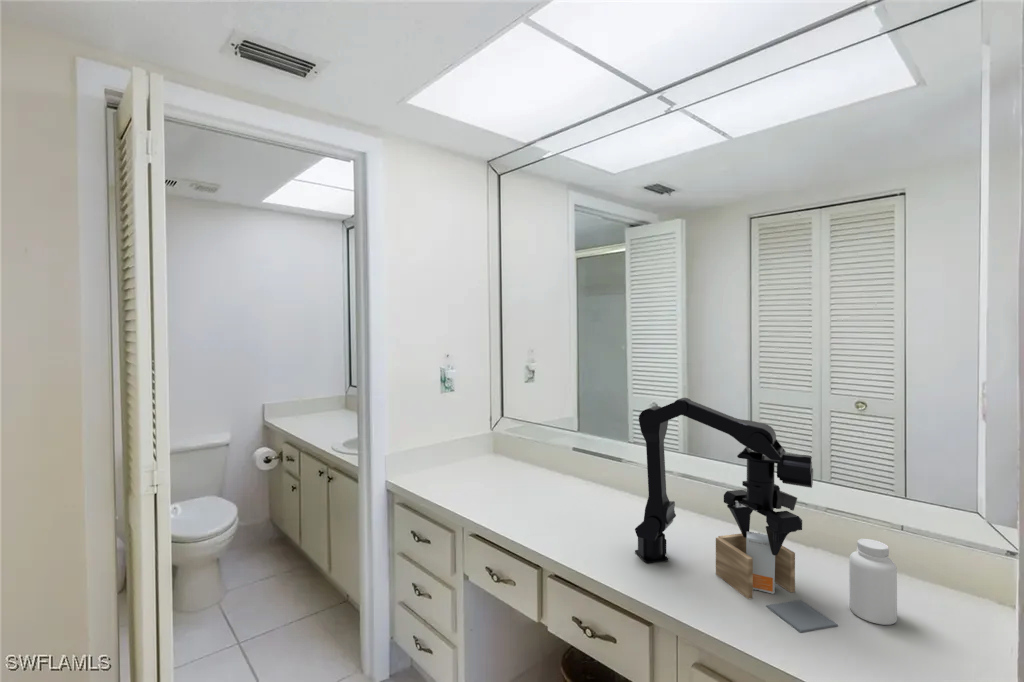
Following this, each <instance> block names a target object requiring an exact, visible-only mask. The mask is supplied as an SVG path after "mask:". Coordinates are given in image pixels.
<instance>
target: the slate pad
mask: <svg viewBox="0 0 1024 682" xmlns="http://www.w3.org/2000/svg"><path fill="white" fill-rule="evenodd" d="M765 607H766V608H767V609H768V610H770V612H773V613H774V614H775V615H776V616H778V617H779V618H780V619H781V620H783V621H784V622H786V623H787V624H788V625H790V626H791V627H792V628H793V629H795V630H796V631H798V632H799V633H806V632H812V631H817V630H823V629H828V628H834V627H838V623H837V622H835V621H834V620H832V619H831V618H829V617H828V616H826V614H823V613H822V612H821V611H819V610H818V609H816V608H814V607H813V606H812V605H810V604H808V603H807V602H806V601H804V600H802V599H796V600H790V601H783V602H777V603H771V604H766V606H765Z"/></svg>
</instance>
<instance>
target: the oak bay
mask: <svg viewBox="0 0 1024 682" xmlns="http://www.w3.org/2000/svg"><path fill="white" fill-rule="evenodd" d="M715 575H716V576H718V577H719V578H720V579H722V580H723V581H725V583H726V584H728V585H729V586H731V587H732V588H733V589H734V590H736V591H737V592H738V593H740V594H741V595H742V596H743V597H744V598H746V599H747V600H751V599H754V598H753V595H754V592H753V590H754V589H753V558H751V557H750V556H748V555H747V554H746V538H744V537H743V535H742V533H741V532H740V533H736V534H735V533H733V534H726V535H719V536H718V537H715ZM775 584H778V585H779V586H780V587H781V588H783V589H785V590H786V591H788V592H789V593H795V592H796V552H794V551H793V550H791V549H789V548H787V547H785V546H784V545H782V546H781V548H780V550H779V553H778V555H775Z"/></svg>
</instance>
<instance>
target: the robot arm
mask: <svg viewBox="0 0 1024 682" xmlns="http://www.w3.org/2000/svg"><path fill="white" fill-rule="evenodd" d="M638 415H639V416H638V423H639V428H640V433H641V434H642V437H643V438H644V441H645V448H646V451H645V452H646V465H647V466H646V467H647V468H646V469H647V486H648V487H647V489H648V498H647V501H646V503H645V507H644V508H645V509H644V515H643V521H641V523H639V524H638V525H637V526H636V527H635V529H634V531H635V534H636V535H635V536H636V537H637V549H635V550H634V553H635V554H636V555H637V556H638V557H639V558H640V559H641V560H643V562H644V563H646V564H650V563H652V564H653V563H658V562H666V561H669V557H668V556H667V539H666V535H665V533H664V532H665V531H666V530H667V529H668V528H669V527H670V526H671V524H673V523H674V522H673V521H674V519H675V518H676V517H677V514H676V513H675V506H676V503H675V501H674V500H673V501H670V499H669V496H668V495H667V481H666V480H667V479H666V476H667V475H666V460H665V459H666V458H665V438H666V434H667V431H668V426H669V425H668V424H669V421H670V420H672V419H674V418H677V417H679V416H684V417H687V418H689V419H691V420H693V421H696V422H698V423H700V424H703V425H706V426H707V427H710V428H713V429H715V430H718V431H720V432H722V433H725V434H727V435H729V436H730V437H732V438H733V439H735V440H736V441H737V442H739V444H741V445H743V446H744V448H743V450H742V451H740V452H738V454H737V456H736V457H737V458H738V459H743V460H746V480H742V481H741V482H742V483H741V484H742V487H745V488H746V490H743V489H737V490H736V489H735V490H734V489H733V490H726V491H725V493H724V494H723V503H724V504H726V507H727V508H728V509H729V510H730V512H731V514H732V516H733V518H734V520H735V522H736V524H737V526H738V528H739V530H740V534H741V533H742V535H743V537H744V538H746V537H747V531H748V532H750V524H751V515H752V513H753V512H756V513H758V514H760V515H762V516H764V517H765V520H766V521H765V522H766V526H765V530H766V531H765V532H766V535H768V540H769V544H770V549H771V552H772V555H778V553H779V550H780V548H781V546H783V544H784V541H785V540H786V538H787V537H788V535H789V534H790V533H795V532H797V531H803V519H802V518H801V517H800V516H798V515H796V514H795V513H793V512H791V511H795V508H796V504H797V502H798V501H797V500H798V497H796V496H794V495H792V494H790V493H787V492H785V491H782V490H781V488H780V486H779V485H778V484H776V483H775V464H776V478H778V480H779V481H780V482H781V483H782V484H786V485H793V486H799V487H804V488H805V487H806V488H809V489H810V488H811V489H813V485H814V468H813V461H812V460H813V459H812V455H809V454H808V455H807V454H803V455H802V454H794V453H786V452H787V451H786V450H785V449H784V447H783V446H782V445H781V443H780V442H779V441H778V439H777V433H776V432H775V429H774V428H773V427H772V426H771V425H769V424H766V423H762V422H760V421H759V422H758V421H753V420H748V419H742V418H737V417H733V416H731V415H729V414H726V413H723V412H721V411H719V410H716V409H713V408H710V407H709V406H705V405H704V404H701V403H698V402H696V401H693V400H691V399H690V398H688V397H681V398H678V399H676V400H675V401H674V402H671V403H669V404H666V405H665V406H661V405H660V406H658V405H656V406H655V405H654V406H651V407H649V408H646V409H644V410H642V411H641V412H640V413H639V414H638ZM782 507H783V508H786V509H789V510H781V509H782ZM774 509H776V510H781V511H775V510H774Z"/></svg>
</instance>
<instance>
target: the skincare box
mask: <svg viewBox="0 0 1024 682" xmlns="http://www.w3.org/2000/svg"><path fill="white" fill-rule="evenodd" d="M746 554H747V555H748V556H750V557H751V558H753V590H756V591H760V592H764V593H768V594H772V595H775V590H776V589H775V587H776V586H775V585H776V582H775V555H772V552H771V549H770V544H769V540H768V535H767V533H761V532H754V531H749V532H748V531H747V537H746Z"/></svg>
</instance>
